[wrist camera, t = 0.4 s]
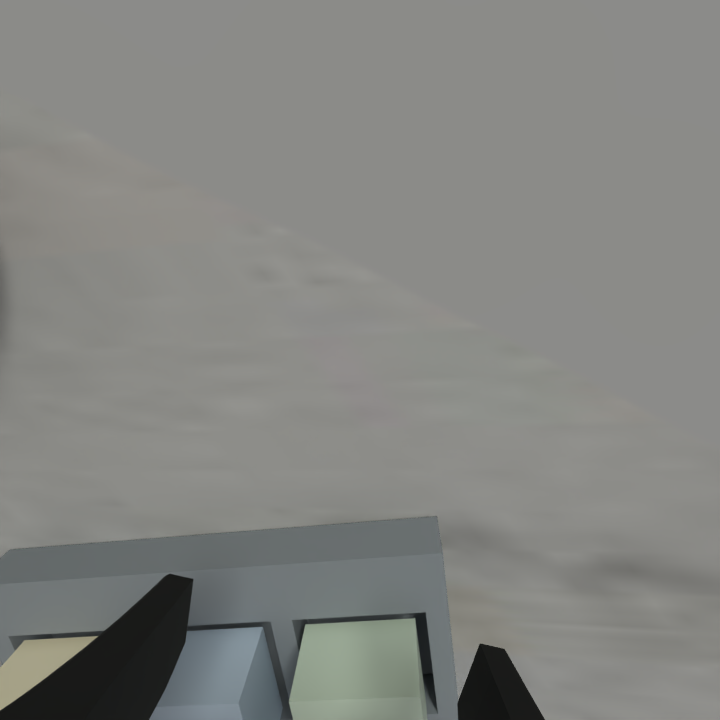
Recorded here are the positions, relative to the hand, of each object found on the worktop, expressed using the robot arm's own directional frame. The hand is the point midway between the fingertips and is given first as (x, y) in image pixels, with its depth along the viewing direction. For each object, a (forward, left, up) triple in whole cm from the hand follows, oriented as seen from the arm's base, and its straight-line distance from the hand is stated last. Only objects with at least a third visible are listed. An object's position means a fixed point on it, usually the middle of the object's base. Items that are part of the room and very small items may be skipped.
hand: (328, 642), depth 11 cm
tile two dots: (-10, +8, -8) cm, 15 cm away
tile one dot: (-10, +1, -8) cm, 12 cm away
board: (-10, +8, -10) cm, 16 cm away
